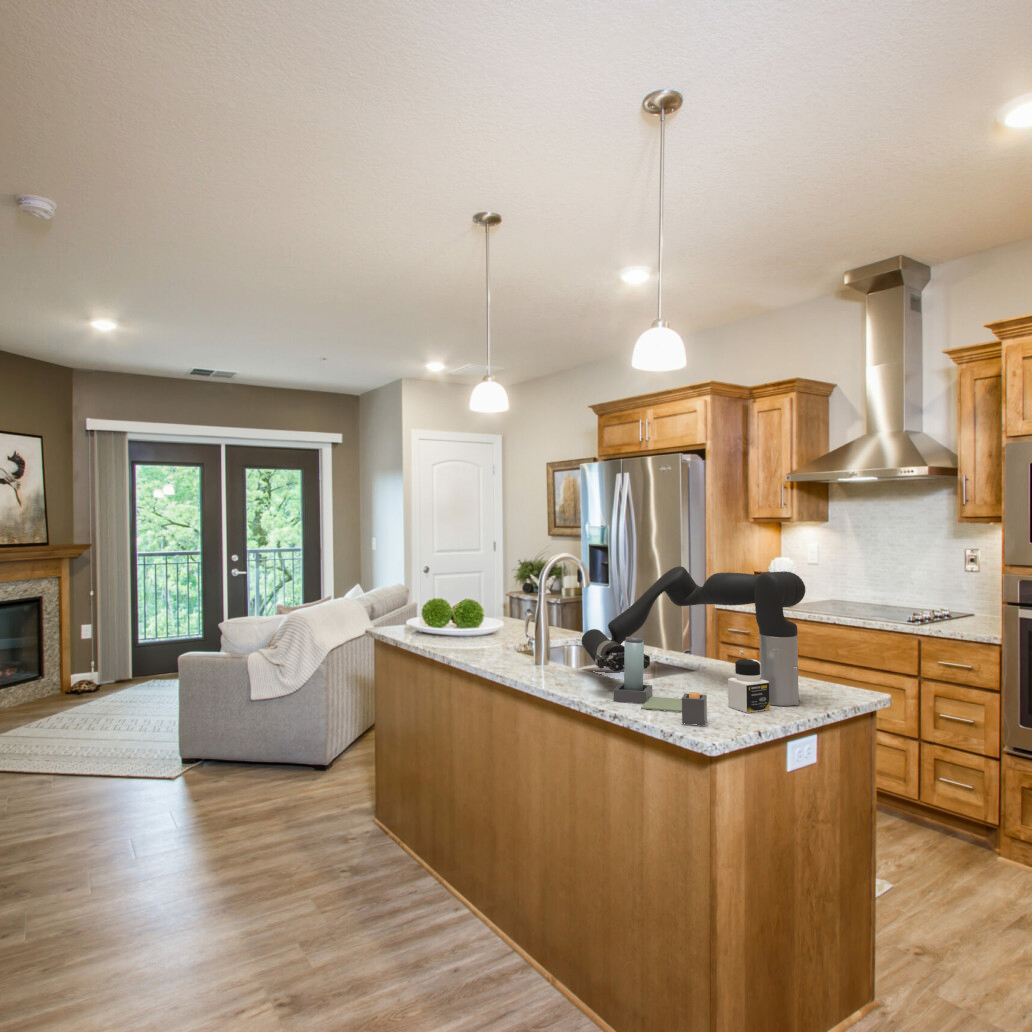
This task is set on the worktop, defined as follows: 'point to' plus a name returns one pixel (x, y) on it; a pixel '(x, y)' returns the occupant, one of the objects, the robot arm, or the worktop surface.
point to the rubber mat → (663, 704)
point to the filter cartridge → (633, 663)
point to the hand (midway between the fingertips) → (630, 665)
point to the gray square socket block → (694, 710)
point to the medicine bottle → (748, 687)
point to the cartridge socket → (632, 694)
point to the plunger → (694, 695)
